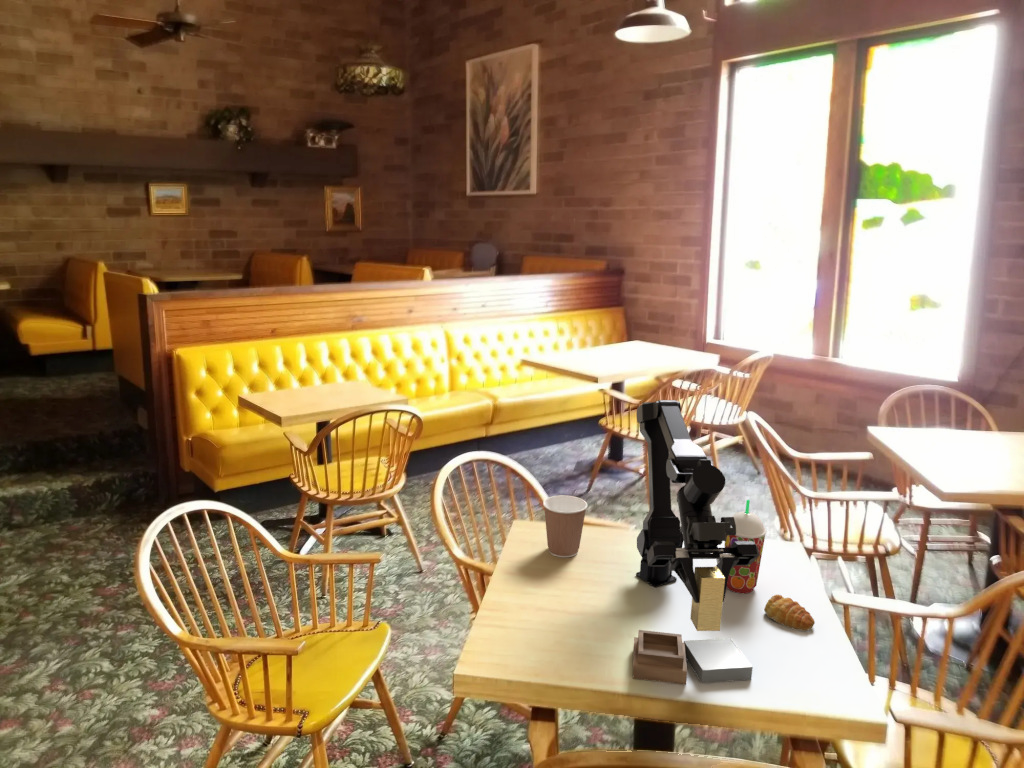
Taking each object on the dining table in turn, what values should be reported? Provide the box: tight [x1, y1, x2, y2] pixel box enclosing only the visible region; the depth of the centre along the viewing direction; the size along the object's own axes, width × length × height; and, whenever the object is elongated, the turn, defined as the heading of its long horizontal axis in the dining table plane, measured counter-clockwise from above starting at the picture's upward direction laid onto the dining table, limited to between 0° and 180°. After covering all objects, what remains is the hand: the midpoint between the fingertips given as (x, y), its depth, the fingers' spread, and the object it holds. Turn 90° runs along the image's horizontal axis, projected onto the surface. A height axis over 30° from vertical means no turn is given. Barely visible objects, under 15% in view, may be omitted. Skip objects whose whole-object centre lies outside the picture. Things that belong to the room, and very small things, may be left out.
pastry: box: [763, 594, 815, 632], centre depth 150 cm, size 9×7×4 cm
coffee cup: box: [542, 494, 588, 558], centre depth 177 cm, size 10×10×12 cm
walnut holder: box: [632, 629, 688, 686], centre depth 134 cm, size 9×9×4 cm
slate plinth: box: [683, 637, 753, 684], centre depth 135 cm, size 9×9×2 cm
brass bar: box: [690, 566, 725, 632], centre depth 131 cm, size 4×4×10 cm
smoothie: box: [724, 499, 767, 594], centre depth 161 cm, size 8×8×20 cm
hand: (709, 602), depth 130 cm, fingers closed on brass bar, 4 cm apart
